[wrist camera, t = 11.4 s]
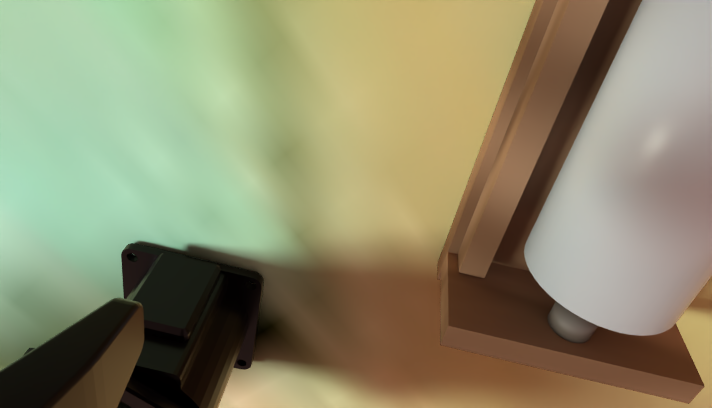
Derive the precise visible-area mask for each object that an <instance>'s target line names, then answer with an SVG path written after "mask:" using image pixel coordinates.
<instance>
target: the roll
mask: <svg viewBox="0 0 712 408" xmlns="http://www.w3.org/2000/svg"><path fill="white" fill-rule="evenodd" d="M524 255H525V260H526V264H527V266H528V268H529V270H530V272H531V274H532V275H533V277H534V279H535V280H536V281H537V282H538V284H539V285H540V286H541V287H542V288H543V289H544V290H545V291H546V292H547V293H548V294H549V295H550V296H551V297H552V298H553V299H554V300H555V301H557V302H558V303H559V304H561V305H562V306H563V307H565V308H566V309H568V310H569V311H571V312H572V313H574V314H575V315H577V316H579V317H581V318H583V319H585V320H586V321H589V322H591V323H593V324H595V325H597V326H600V327H603V328H606V329H608V330H612V331H615V332H619V333H624V334H629V335H639V336H647V335H655V334H660V333H663V332H665V331H667V330H669V329H670V328H672V327H673V326H674V325H675V324H676V322H677V321H678V320H679V318H680V317H681V316H682V314H683V313H684V312H685V310H686V309H687V308H688V307H689V305H690V304H691V303H692V301H693V300H694V299H695V297H696V296H697V295H698V293H699V292H700V291H701V290H702V288H703V287H704V286H705V284H706V283H707V282H708V280H709V279H710V278H711V276H712V0H642V2H641V4H640V6H639V8H638V10H637V12H636V14H635V16H634V18H633V20H632V23H631V25H630V27H629V29H628V31H627V33H626V35H625V37H624V39H623V41H622V43H621V45H620V48H619V50H618V52H617V54H616V56H615V58H614V60H613V62H612V64H611V66H610V68H609V70H608V73H607V75H606V77H605V79H604V81H603V83H602V85H601V87H600V89H599V91H598V93H597V95H596V98H595V100H594V102H593V104H592V106H591V108H590V110H589V112H588V114H587V116H586V118H585V120H584V123H583V125H582V127H581V129H580V131H579V133H578V135H577V137H576V139H575V141H574V143H573V145H572V148H571V150H570V152H569V154H568V156H567V158H566V160H565V162H564V164H563V166H562V168H561V170H560V172H559V175H558V177H557V179H556V181H555V183H554V185H553V187H552V189H551V191H550V193H549V195H548V197H547V200H546V202H545V204H544V206H543V208H542V210H541V212H540V214H539V216H538V218H537V220H536V222H535V225H534V227H533V229H532V231H531V233H530V235H529V237H528V239H527V241H526V244H525V249H524Z"/></svg>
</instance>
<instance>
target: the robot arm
mask: <svg viewBox="0 0 712 408" xmlns="http://www.w3.org/2000/svg"><path fill="white" fill-rule="evenodd" d="M132 253H133V254H135V255H136V256H135V255H133V254H132ZM121 257H122V273H123V289H124V299H123V298H114V299H112V300H110V301H109V302H107V303H105V304H104V305H102V306H101V307H99V308H98V309H96V310H94V311H93V312H91V313H90V314H88V315H87V316H85V317H83V318H82V319H80V320H79V321H77V322H76V323H74V324H73V325H71V326H69V327H68V328H66V329H65V330H63V331H62V332H60V333H58V334H57V335H55V336H54V337H52V338H51V339H49V340H47V341H46V342H44V343H43V344H41V345H40V346H38V347H37V348H29V349H28V350H27V351H26V353H25V354H24V355H23V356H22V357H21V358H19V359H18V360H16V361H15V362H13V363H11V364H10V365H8V366H7V367H5V368H4V369H2V370H1V371H0V408H218V406H219V403H220V401H221V398H222V396H223V393H224V390H225V388H226V385H227V383H228V380H229V377H230V375H231V372H232V370H233V367H234V368H238V369H248V368H250V367H251V364H252V361H253V358H254V351H255V344H256V336H257V329H258V322H259V315H260V307H261V300H262V293H263V286H264V279H263V277H262V276H261V275H260V274H259V273H256V272H253V271H249V270H245V269H241V268H236V267H232V266H228V265H224V264H220V263H215V262H211V261H207V260H203V259H198V258H194V257H190V256H186V255H181V254H177V253H173V252H169V251H164V250H160V249H156V248H152V247H148V246H143V245H139V244H133V243H131V244H128V245H127V246H126V247H125V249H124V250H123V251H122V254H121ZM249 281H252V282H254V283H255V284H252V283H250V282H249Z"/></svg>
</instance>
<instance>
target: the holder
mask: <svg viewBox="0 0 712 408" xmlns="http://www.w3.org/2000/svg"><path fill="white" fill-rule="evenodd" d="M641 2H642V0H536V2H535V4H534V7H533V10H532V12H531V15H530V18H529V20H528V23H527V26H526V28H525V31H524V34H523V36H522V39H521V42H520V44H519V47H518V50H517V52H516V55H515V58H514V60H513V63H512V66H511V68H510V71H509V74H508V76H507V79H506V82H505V85H504V87H503V90H502V93H501V95H500V98H499V101H498V103H497V106H496V109H495V111H494V114H493V117H492V119H491V122H490V125H489V127H488V130H487V133H486V135H485V138H484V141H483V143H482V146H481V149H480V151H479V154H478V157H477V159H476V162H475V165H474V167H473V170H472V173H471V175H470V178H469V181H468V183H467V186H466V189H465V191H464V194H463V197H462V199H461V202H460V205H459V207H458V210H457V213H456V215H455V218H454V221H453V223H452V226H451V229H450V231H449V234H448V237H447V239H446V242H445V245H444V248H443V250H442V253H441V256H440V258H439V261H438V264H437V279H439V280H441V300H440V345H442V346H447V347H451V348H455V349H459V350H464V351H468V352H472V353H476V354H481V355H485V356H489V357H493V358H498V359H502V360H506V361H510V362H514V363H519V364H523V365H527V366H531V367H536V368H540V369H544V370H548V371H553V372H557V373H561V374H565V375H570V376H574V377H578V378H582V379H587V380H591V381H595V382H599V383H604V384H608V385H612V386H616V387H621V388H625V389H629V390H633V391H638V392H642V393H646V394H650V395H654V396H659V397H663V398H667V399H671V400H676V401H680V402H684V403H688V404H689V403H690V402H691V401H692V400H693V399H694V398H695V396H696V395H697V394H698V393H699V392H700V391H701V390H702V389H703V388H704V384H703V382H702V380H701V377H700V375H699V373H698V371H697V369H696V367H695V364H694V362H693V360H692V358H691V356H690V354H689V351H688V349H687V347H686V345H685V343H684V341H683V338H682V336H681V334H680V332H679V330H678V328H677V325H676V324H675V325H674V326H673V327H672V328H670V329H669V330H667V331H665V332H663V333H660V334H655V335H647V336H639V335H629V334H624V333H619V332H615V331H612V330H608V329H606V328H603V327H600V326H597V325H595V324H593V323H591V322H589V321H586V320H585V319H583V318H581V317H579V316H577V315H575V314H574V313H572V312H571V311H569V310H568V309H566V308H565V307H563V306H562V305H561V304H559V303H558V302H557V301H555V300H554V299H553V298H552V297H551V296H550V295H549V294H548V293H547V292H546V291H545V290H544V289H543V288H542V287H541V286H540V285H539V284H538V282H537V281H536V280H535V279H534V277H533V275H532V274H531V272H530V270H529V268H528V266H527V264H526V260H525V255H524V249H525V244H526V241H527V239H528V237H529V235H530V233H531V231H532V229H533V227H534V225H535V222H536V220H537V218H538V216H539V214H540V212H541V210H542V208H543V206H544V204H545V202H546V200H547V197H548V195H549V193H550V191H551V189H552V187H553V185H554V183H555V181H556V179H557V177H558V175H559V172H560V170H561V168H562V166H563V164H564V162H565V160H566V158H567V156H568V154H569V152H570V150H571V148H572V145H573V143H574V141H575V139H576V137H577V135H578V133H579V131H580V129H581V127H582V125H583V123H584V120H585V118H586V116H587V114H588V112H589V110H590V108H591V106H592V104H593V102H594V100H595V98H596V95H597V93H598V91H599V89H600V87H601V85H602V83H603V81H604V79H605V77H606V75H607V73H608V70H609V68H610V66H611V64H612V62H613V60H614V58H615V56H616V54H617V52H618V50H619V48H620V45H621V43H622V41H623V39H624V37H625V35H626V33H627V31H628V29H629V27H630V25H631V23H632V20H633V18H634V16H635V14H636V12H637V10H638V8H639V6H640V4H641Z"/></svg>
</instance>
